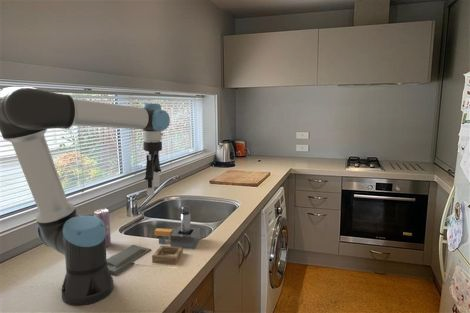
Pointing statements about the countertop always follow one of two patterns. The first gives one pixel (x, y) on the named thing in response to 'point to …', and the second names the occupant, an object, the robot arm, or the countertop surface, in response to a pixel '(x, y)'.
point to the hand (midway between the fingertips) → (153, 190)
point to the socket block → (183, 238)
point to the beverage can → (105, 217)
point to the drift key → (163, 232)
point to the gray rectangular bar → (185, 221)
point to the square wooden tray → (161, 258)
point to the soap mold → (125, 259)
